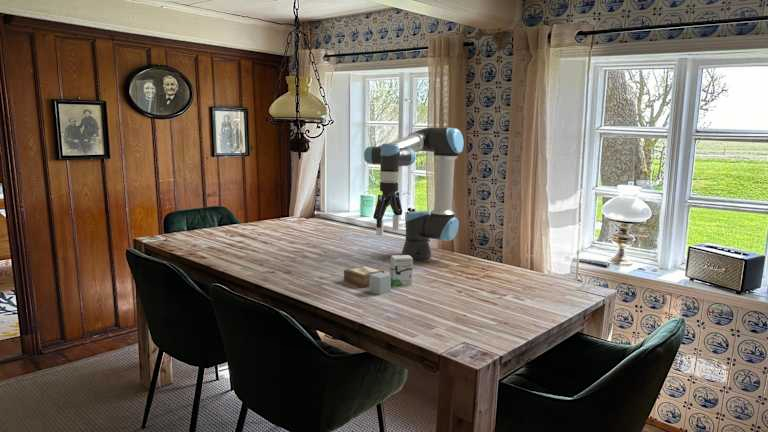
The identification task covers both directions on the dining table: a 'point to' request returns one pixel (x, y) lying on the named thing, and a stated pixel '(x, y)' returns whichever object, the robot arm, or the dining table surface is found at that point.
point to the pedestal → (360, 275)
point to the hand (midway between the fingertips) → (387, 232)
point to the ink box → (401, 270)
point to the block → (380, 283)
